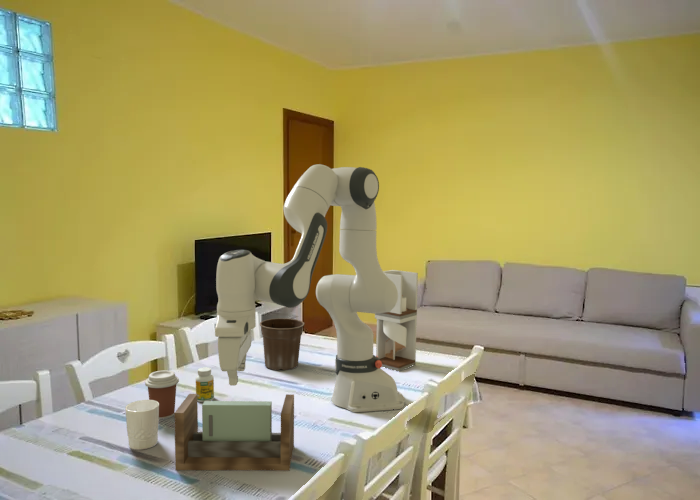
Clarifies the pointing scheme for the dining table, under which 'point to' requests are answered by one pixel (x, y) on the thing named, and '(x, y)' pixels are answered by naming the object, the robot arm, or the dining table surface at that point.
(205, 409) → the door panel
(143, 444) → the white cup
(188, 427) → the wooden book rack
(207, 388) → the supplement bottle
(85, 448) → the dining table surface
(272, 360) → the plant pot
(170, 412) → the coffee cup
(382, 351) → the display case
